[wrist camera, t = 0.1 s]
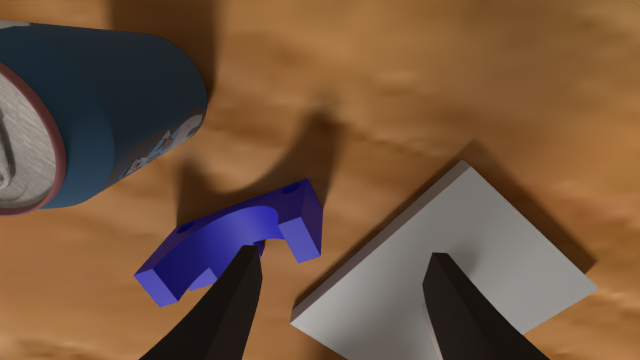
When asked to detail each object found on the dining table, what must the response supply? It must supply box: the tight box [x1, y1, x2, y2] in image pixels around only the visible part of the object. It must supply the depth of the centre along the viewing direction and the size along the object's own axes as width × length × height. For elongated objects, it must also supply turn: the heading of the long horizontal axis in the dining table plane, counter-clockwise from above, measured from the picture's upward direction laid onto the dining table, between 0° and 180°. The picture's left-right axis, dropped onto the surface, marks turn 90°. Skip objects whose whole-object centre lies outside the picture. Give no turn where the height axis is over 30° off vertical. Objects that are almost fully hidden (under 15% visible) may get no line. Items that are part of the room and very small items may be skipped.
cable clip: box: [134, 178, 323, 307], centre depth 22 cm, size 12×4×6 cm, turn 113°
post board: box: [290, 159, 599, 360], centre depth 23 cm, size 20×16×6 cm
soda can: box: [0, 20, 207, 216], centre depth 15 cm, size 7×7×12 cm
